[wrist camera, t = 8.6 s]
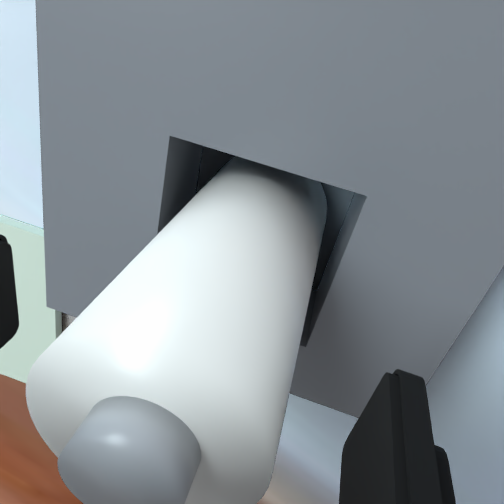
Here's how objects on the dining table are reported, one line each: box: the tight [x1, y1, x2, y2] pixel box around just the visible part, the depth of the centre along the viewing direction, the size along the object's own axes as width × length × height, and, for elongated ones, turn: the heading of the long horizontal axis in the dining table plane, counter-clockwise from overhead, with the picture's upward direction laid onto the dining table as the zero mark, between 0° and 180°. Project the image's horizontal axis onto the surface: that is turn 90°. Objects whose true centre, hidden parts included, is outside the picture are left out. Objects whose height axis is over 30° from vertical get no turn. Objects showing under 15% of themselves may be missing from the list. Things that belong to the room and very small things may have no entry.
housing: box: [36, 0, 504, 418], centre depth 14 cm, size 16×24×4 cm, turn 167°
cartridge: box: [26, 156, 327, 504], centre depth 13 cm, size 5×5×13 cm
